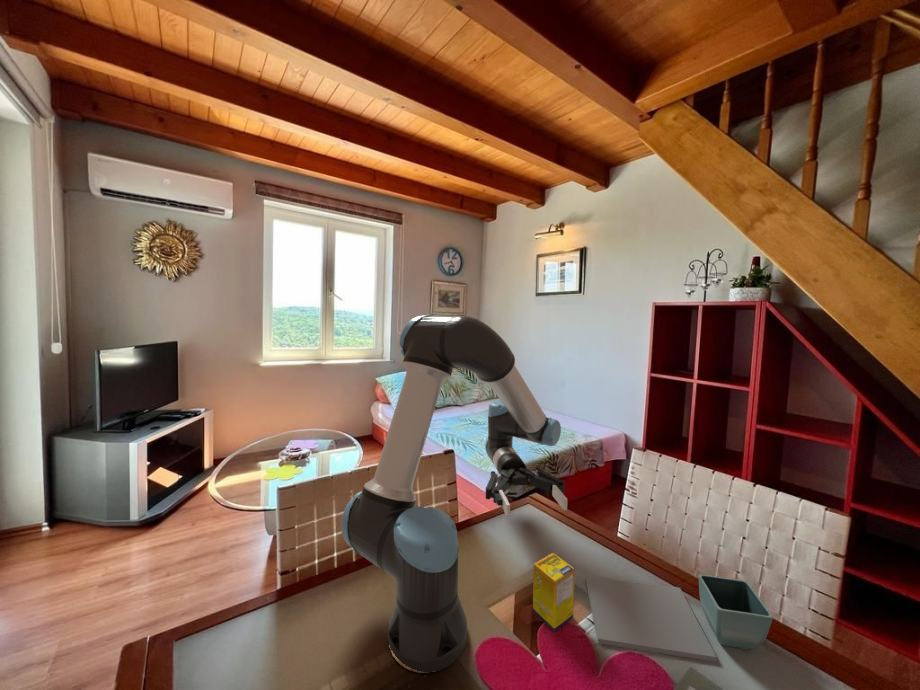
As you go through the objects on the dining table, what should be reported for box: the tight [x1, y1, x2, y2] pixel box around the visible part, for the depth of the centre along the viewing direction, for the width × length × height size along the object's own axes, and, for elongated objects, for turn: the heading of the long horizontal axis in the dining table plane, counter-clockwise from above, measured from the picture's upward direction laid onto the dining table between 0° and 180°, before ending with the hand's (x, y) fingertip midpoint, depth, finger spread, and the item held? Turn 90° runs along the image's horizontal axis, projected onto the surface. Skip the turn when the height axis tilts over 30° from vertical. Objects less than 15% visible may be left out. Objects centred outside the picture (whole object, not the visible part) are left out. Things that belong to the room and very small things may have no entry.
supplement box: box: [532, 552, 576, 633], centre depth 74 cm, size 6×6×11 cm
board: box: [584, 575, 717, 663], centre depth 74 cm, size 20×16×1 cm
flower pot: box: [698, 574, 774, 650], centre depth 69 cm, size 9×9×9 cm
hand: (537, 507), depth 82 cm, fingers open, 13 cm apart
